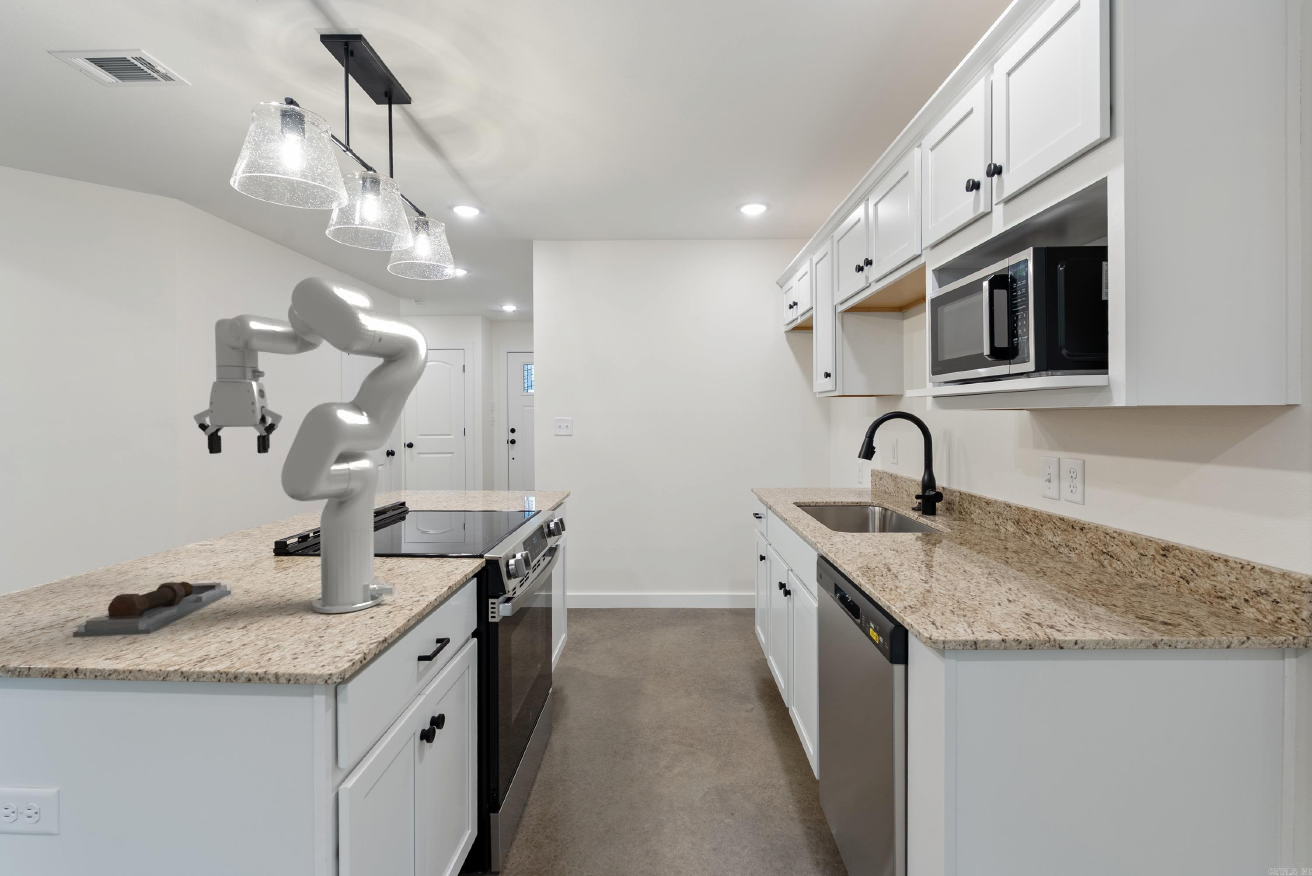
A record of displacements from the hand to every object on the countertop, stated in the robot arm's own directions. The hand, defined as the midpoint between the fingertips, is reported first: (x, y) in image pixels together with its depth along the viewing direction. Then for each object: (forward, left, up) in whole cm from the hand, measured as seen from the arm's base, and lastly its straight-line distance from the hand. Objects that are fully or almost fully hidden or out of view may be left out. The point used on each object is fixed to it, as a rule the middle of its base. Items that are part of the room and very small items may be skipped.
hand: (239, 453), depth 125 cm
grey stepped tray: (+6, +16, -30) cm, 35 cm away
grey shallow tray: (+6, +16, -30) cm, 35 cm away
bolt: (+6, +17, -30) cm, 34 cm away
